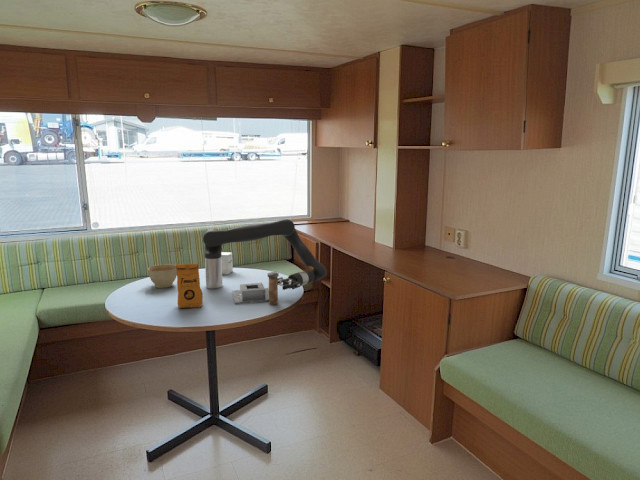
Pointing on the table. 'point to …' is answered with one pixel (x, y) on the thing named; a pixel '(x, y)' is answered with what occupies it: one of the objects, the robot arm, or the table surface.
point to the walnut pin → (273, 288)
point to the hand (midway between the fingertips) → (277, 286)
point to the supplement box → (227, 263)
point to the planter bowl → (163, 275)
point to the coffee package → (188, 286)
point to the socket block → (251, 293)
